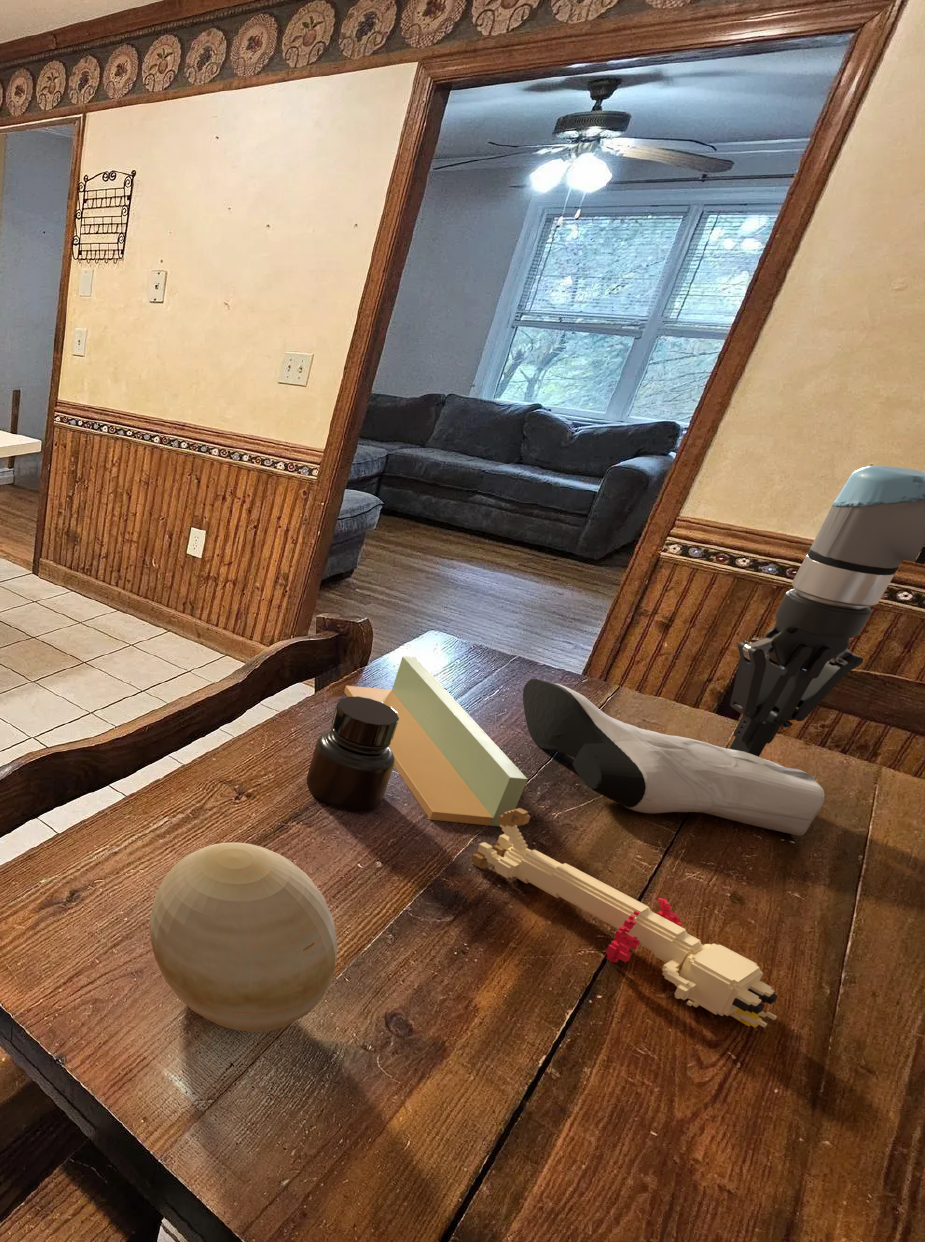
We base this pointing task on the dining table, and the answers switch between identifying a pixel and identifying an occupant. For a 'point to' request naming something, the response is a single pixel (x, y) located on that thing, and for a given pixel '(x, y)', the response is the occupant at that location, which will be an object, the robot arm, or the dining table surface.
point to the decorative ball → (243, 937)
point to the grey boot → (668, 766)
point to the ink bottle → (354, 755)
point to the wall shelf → (445, 751)
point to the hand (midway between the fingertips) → (739, 760)
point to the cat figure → (638, 929)
